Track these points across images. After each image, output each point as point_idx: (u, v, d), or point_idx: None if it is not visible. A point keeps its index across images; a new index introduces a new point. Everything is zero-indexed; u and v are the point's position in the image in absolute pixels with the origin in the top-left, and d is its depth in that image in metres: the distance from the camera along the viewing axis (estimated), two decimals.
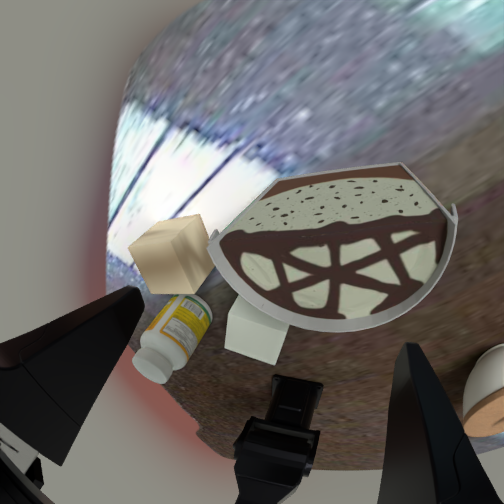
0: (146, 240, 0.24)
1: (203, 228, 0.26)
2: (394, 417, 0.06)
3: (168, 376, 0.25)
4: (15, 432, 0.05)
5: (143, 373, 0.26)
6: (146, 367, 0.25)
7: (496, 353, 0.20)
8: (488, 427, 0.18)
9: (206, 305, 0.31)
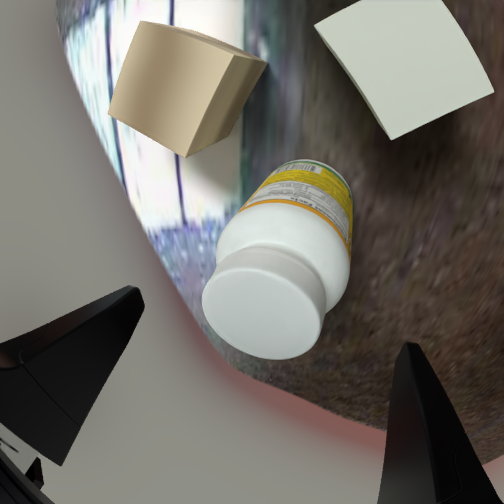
0: None
1: (210, 37, 0.13)
2: (394, 417, 0.06)
3: (314, 294, 0.08)
4: (15, 432, 0.05)
5: (259, 349, 0.10)
6: (244, 310, 0.09)
7: None
8: None
9: None
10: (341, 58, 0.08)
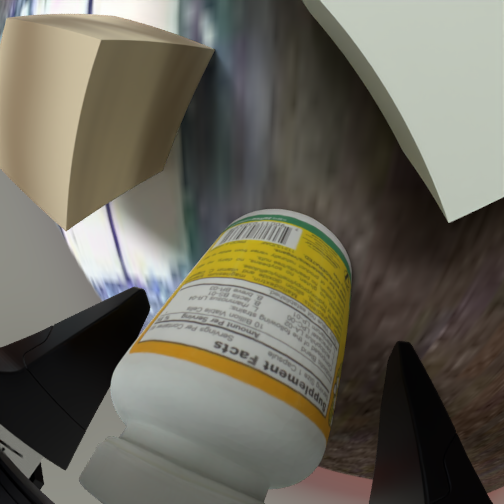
0: None
1: (133, 21, 0.07)
2: (386, 416, 0.06)
3: None
4: (19, 437, 0.05)
5: None
6: None
7: None
8: None
9: (298, 214, 0.09)
10: (332, 9, 0.03)
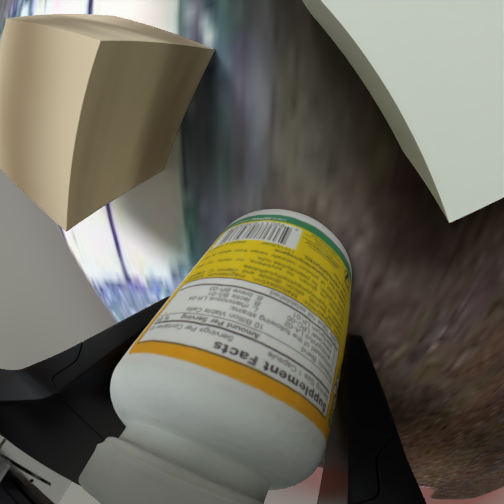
0: None
1: (133, 21, 0.07)
2: None
3: None
4: (49, 466, 0.04)
5: None
6: None
7: None
8: None
9: (298, 214, 0.09)
10: (333, 9, 0.03)
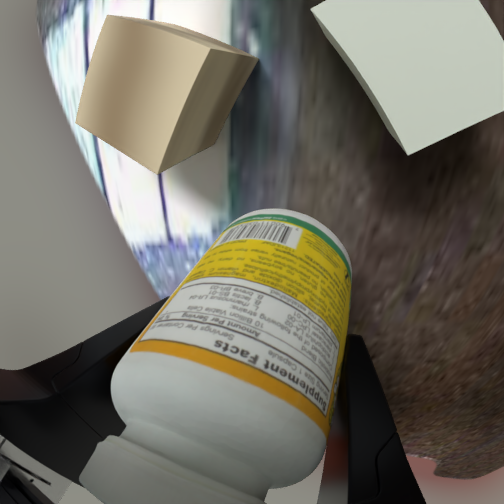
0: None
1: (193, 31, 0.11)
2: None
3: None
4: (49, 466, 0.04)
5: None
6: None
7: None
8: None
9: (298, 213, 0.09)
10: (346, 50, 0.06)
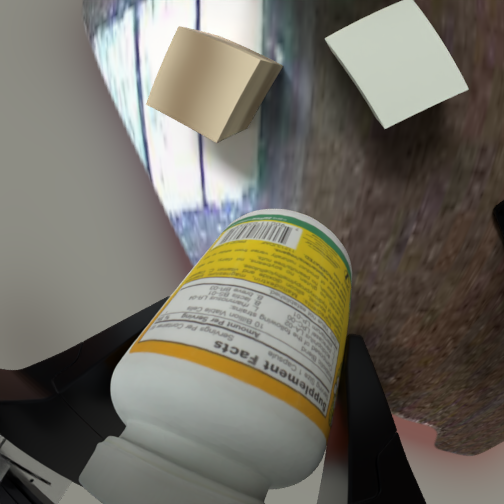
0: None
1: (233, 42, 0.15)
2: None
3: None
4: (49, 466, 0.04)
5: None
6: None
7: None
8: None
9: (298, 214, 0.09)
10: (345, 65, 0.11)
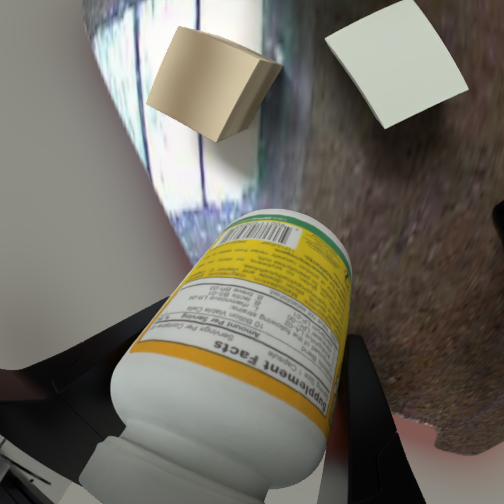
0: None
1: (233, 42, 0.15)
2: None
3: None
4: (49, 466, 0.04)
5: None
6: None
7: None
8: None
9: (298, 214, 0.09)
10: (345, 65, 0.11)
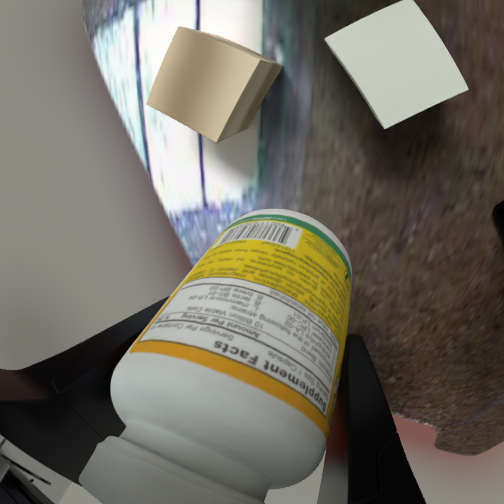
0: None
1: (233, 42, 0.15)
2: None
3: None
4: (49, 466, 0.04)
5: None
6: None
7: None
8: None
9: (298, 214, 0.09)
10: (345, 65, 0.11)
